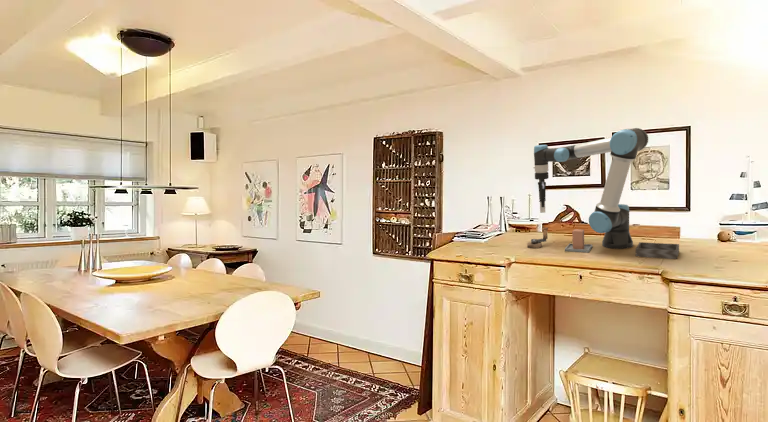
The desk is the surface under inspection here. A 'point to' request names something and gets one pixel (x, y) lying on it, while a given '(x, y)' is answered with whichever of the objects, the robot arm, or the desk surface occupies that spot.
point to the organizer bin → (657, 250)
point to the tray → (586, 249)
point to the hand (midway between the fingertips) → (542, 212)
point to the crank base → (534, 245)
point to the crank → (543, 237)
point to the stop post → (578, 238)
